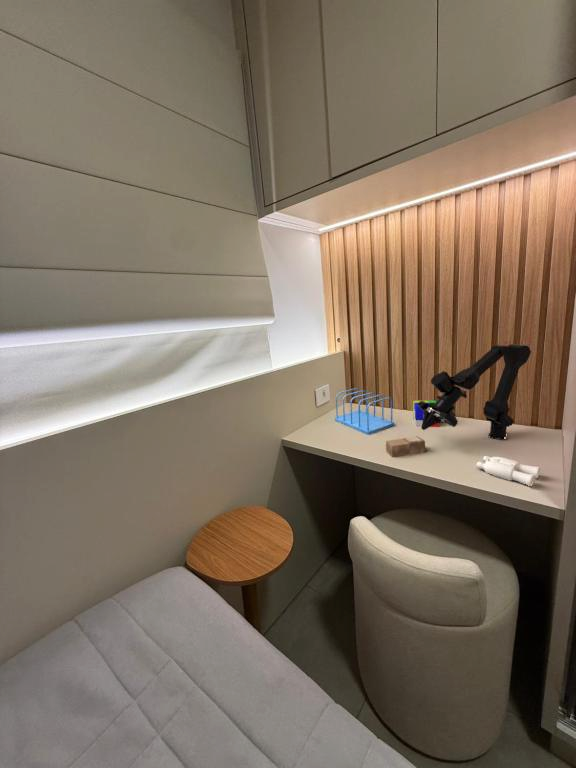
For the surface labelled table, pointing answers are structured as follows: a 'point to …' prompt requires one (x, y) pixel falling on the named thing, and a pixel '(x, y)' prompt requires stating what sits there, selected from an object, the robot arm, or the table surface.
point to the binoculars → (509, 469)
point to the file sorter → (364, 416)
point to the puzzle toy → (420, 414)
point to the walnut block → (405, 446)
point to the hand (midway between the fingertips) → (422, 429)
